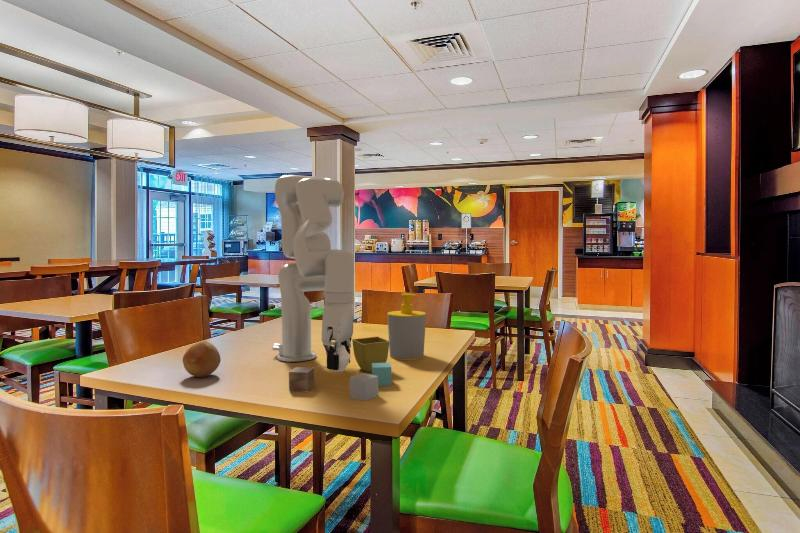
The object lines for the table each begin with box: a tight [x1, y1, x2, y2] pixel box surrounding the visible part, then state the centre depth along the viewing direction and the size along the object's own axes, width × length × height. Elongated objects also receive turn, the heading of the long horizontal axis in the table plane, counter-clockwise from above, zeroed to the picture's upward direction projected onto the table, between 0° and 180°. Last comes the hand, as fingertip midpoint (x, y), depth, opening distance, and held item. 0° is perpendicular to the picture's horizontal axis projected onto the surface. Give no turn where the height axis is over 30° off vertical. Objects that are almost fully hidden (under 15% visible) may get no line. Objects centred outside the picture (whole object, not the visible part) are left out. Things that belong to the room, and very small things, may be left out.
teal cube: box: [371, 362, 392, 387], centre depth 126 cm, size 5×5×5 cm
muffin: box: [332, 344, 351, 372], centre depth 122 cm, size 6×6×7 cm
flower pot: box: [351, 336, 390, 373], centre depth 139 cm, size 9×9×9 cm
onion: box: [182, 340, 222, 379], centre depth 132 cm, size 10×10×10 cm
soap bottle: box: [386, 292, 427, 361], centre depth 156 cm, size 13×13×21 cm
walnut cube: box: [288, 366, 315, 392], centre depth 121 cm, size 5×5×5 cm
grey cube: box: [349, 372, 379, 402], centre depth 114 cm, size 5×5×5 cm
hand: (338, 365), depth 122 cm, fingers closed on muffin, 6 cm apart
